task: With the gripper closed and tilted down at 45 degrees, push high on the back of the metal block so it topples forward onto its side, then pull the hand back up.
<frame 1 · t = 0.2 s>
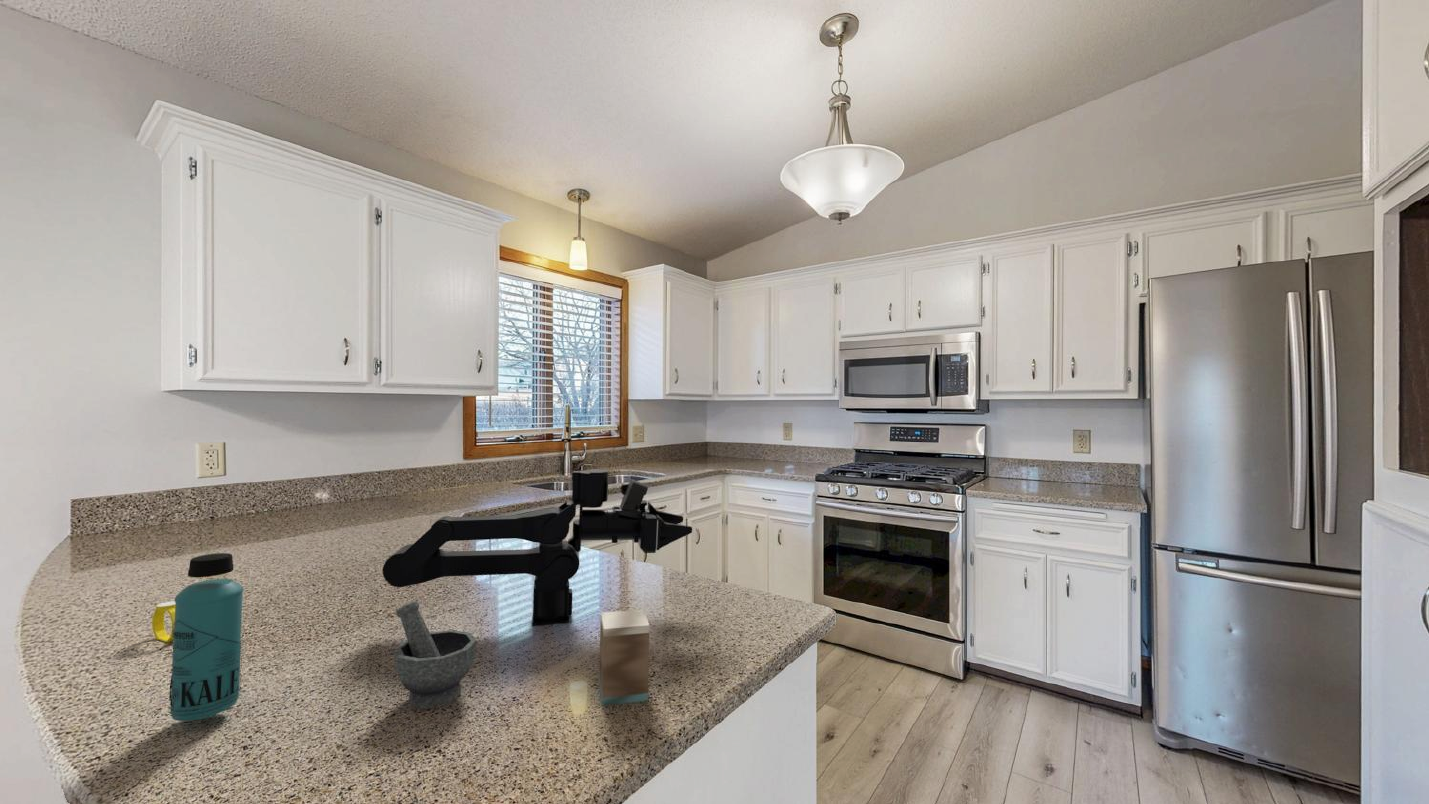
hand: (687, 524, 109), 16 cm above the countertop, tool horizontal, fingers open, 9 cm apart
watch: (167, 641, 90), on the countertop
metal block: (622, 692, 76), on the countertop
mortar and pestle: (430, 697, 74), on the countertop
beverage bottle: (205, 721, 68), on the countertop
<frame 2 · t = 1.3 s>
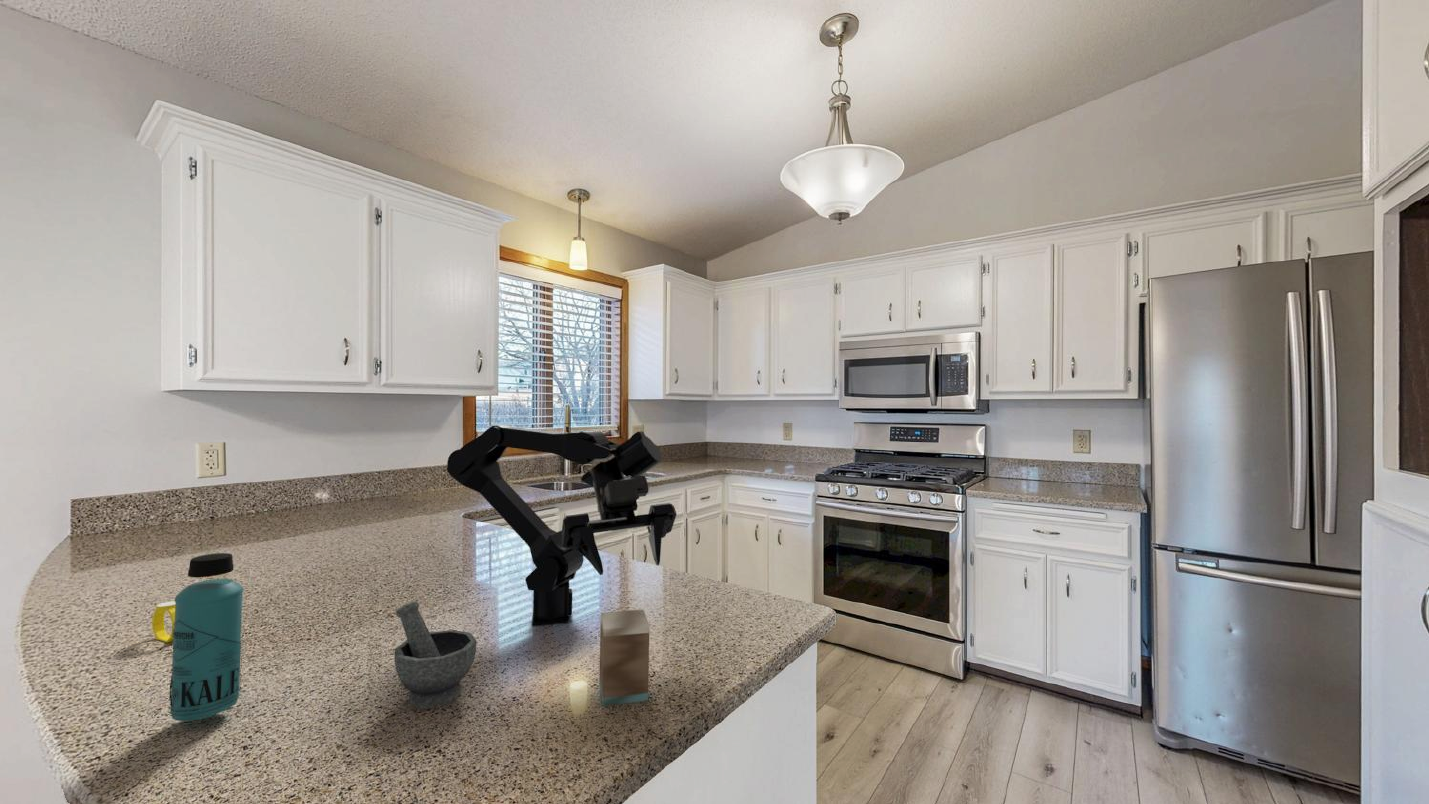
hand: (630, 568, 88), 14 cm above the countertop, tool tilted 45°, fingers open, 9 cm apart
nothing on the countertop moved.
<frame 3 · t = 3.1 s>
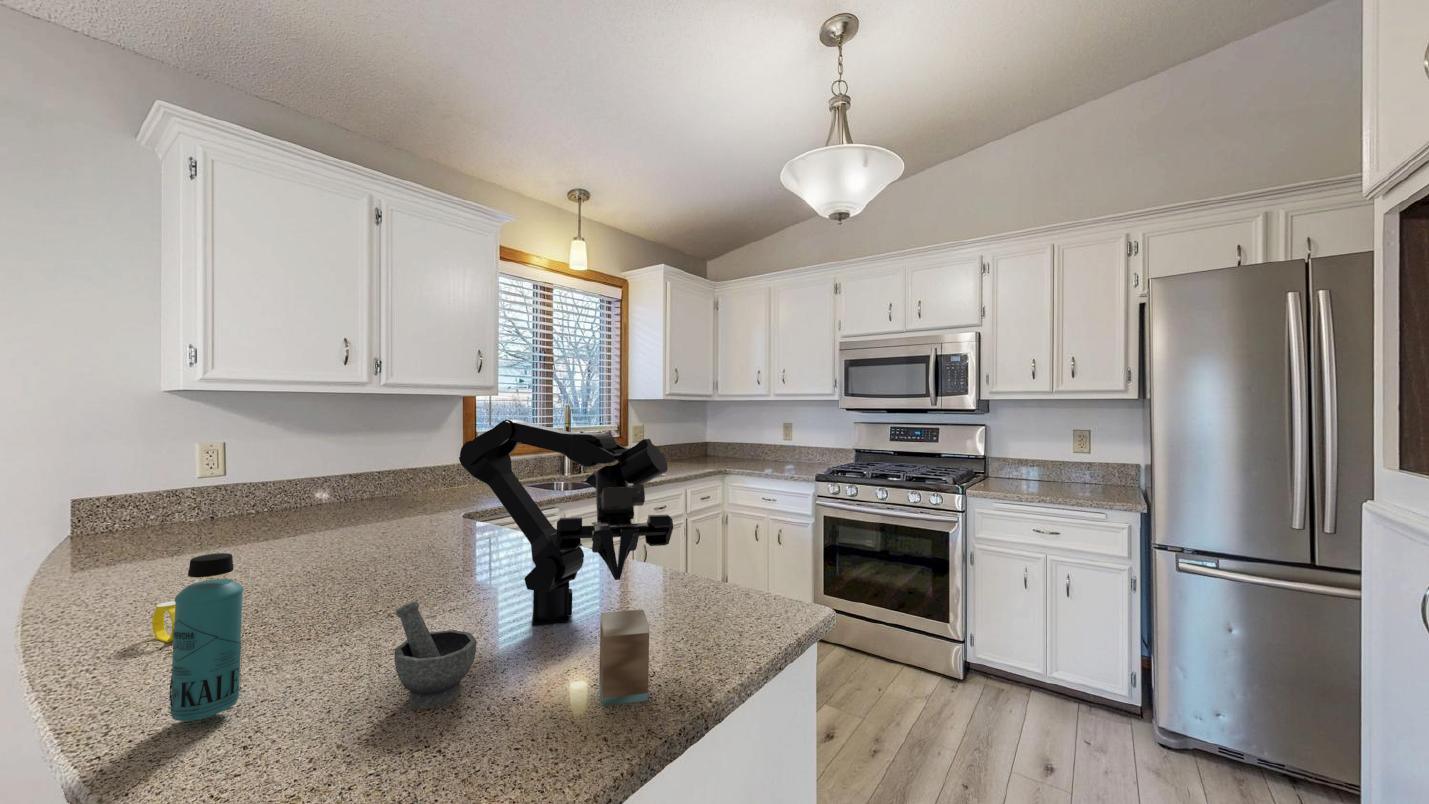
hand: (617, 578, 86), 12 cm above the countertop, tool tilted 45°, fingers closed
nothing on the countertop moved.
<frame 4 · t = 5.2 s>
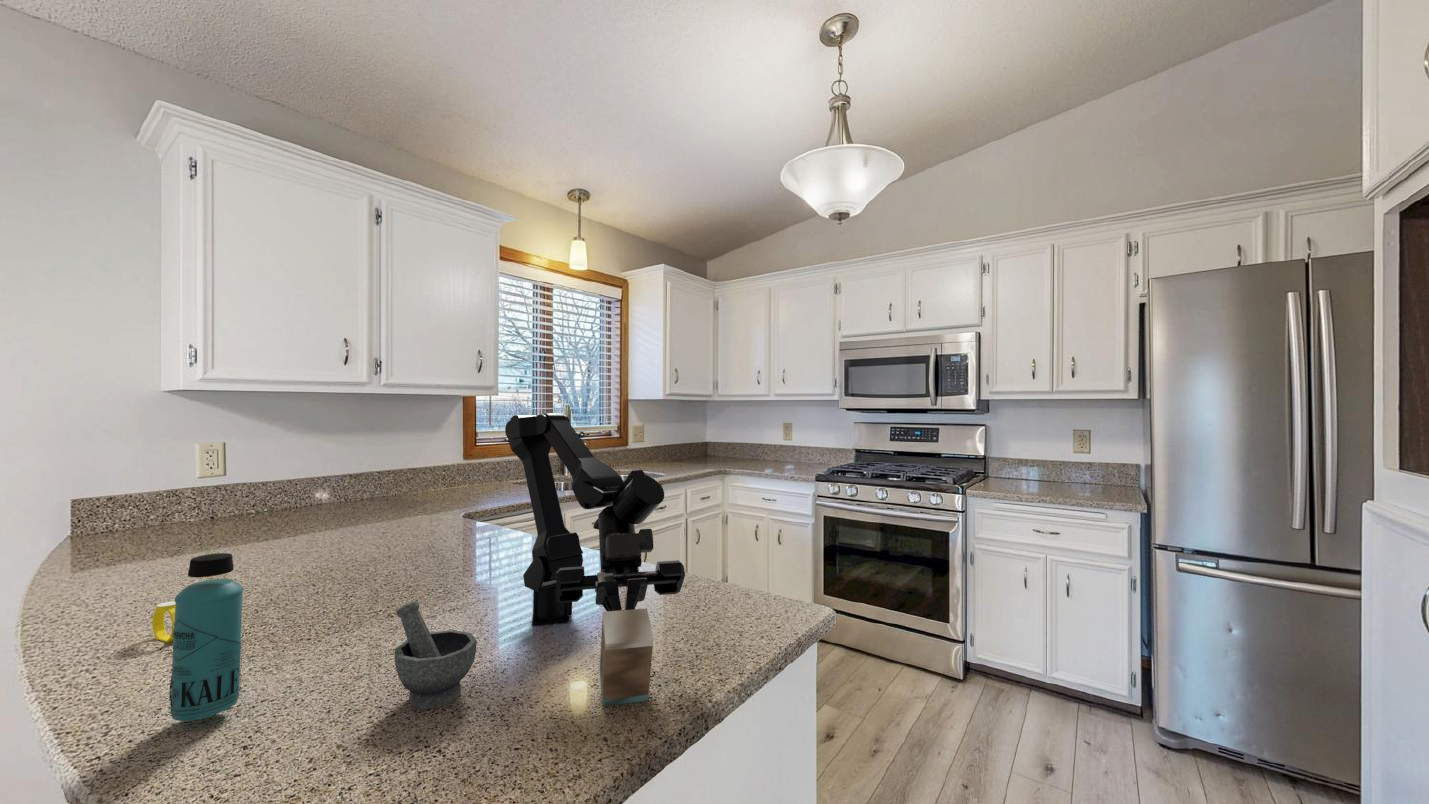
hand: (624, 636, 77), 7 cm above the countertop, tool tilted 45°, fingers closed
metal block: (623, 685, 76), point 1 cm above the countertop, tilted 20°
everything else where it was.
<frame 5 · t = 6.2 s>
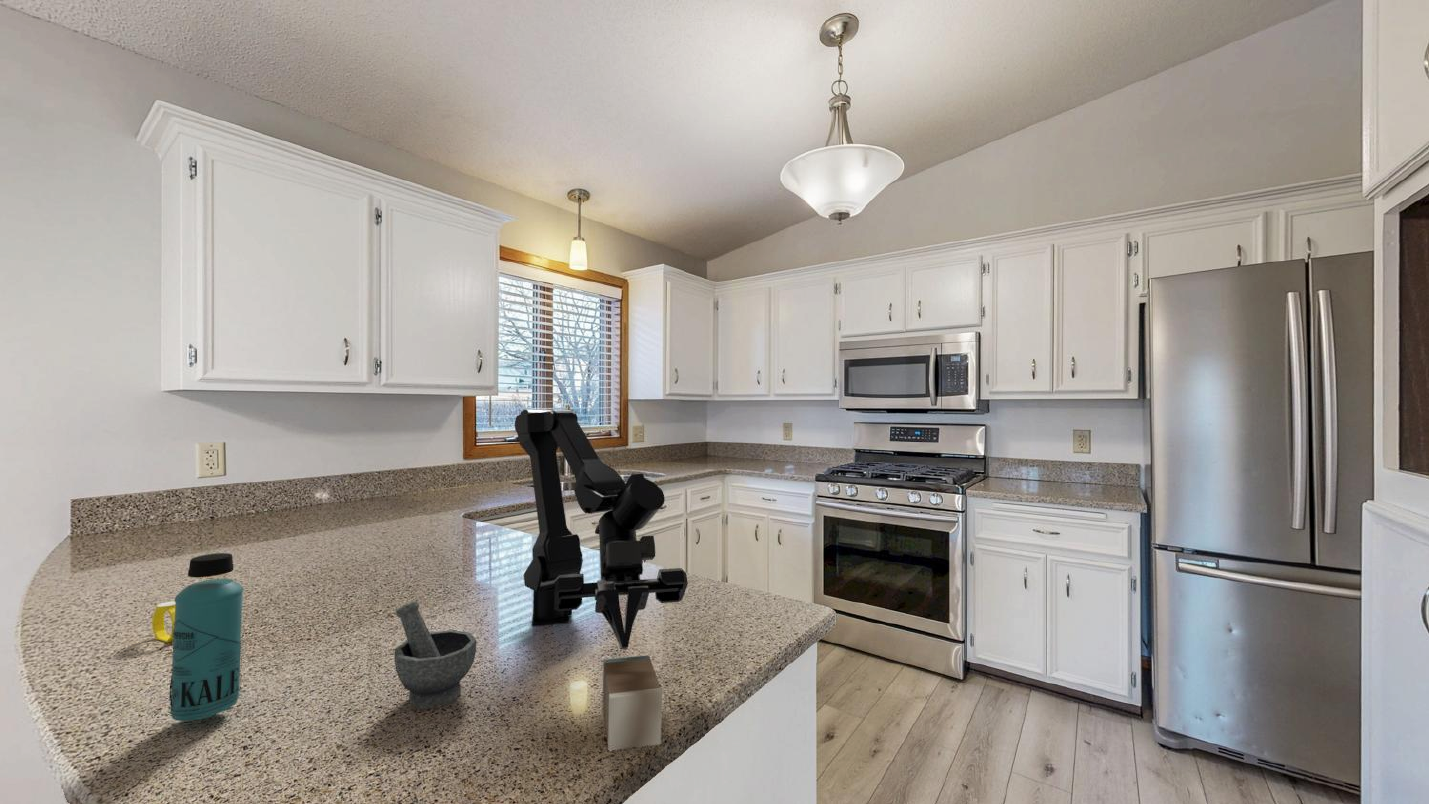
hand: (624, 647, 75), 7 cm above the countertop, tool tilted 45°, fingers closed
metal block: (625, 680, 73), point 3 cm above the countertop, tilted 90°
everything else where it was.
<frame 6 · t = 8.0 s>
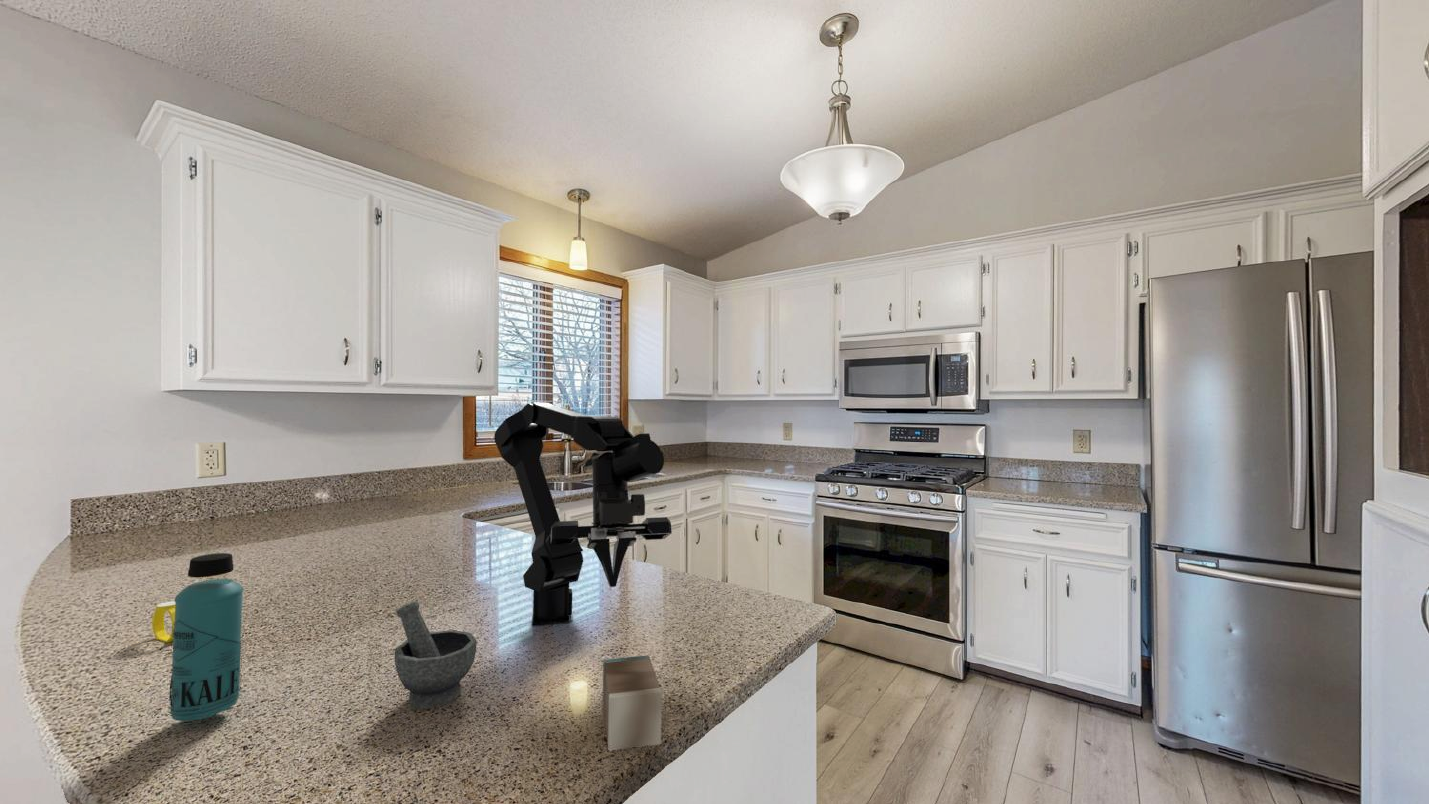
hand: (612, 586, 86), 11 cm above the countertop, tool tilted 20°, fingers closed
nothing on the countertop moved.
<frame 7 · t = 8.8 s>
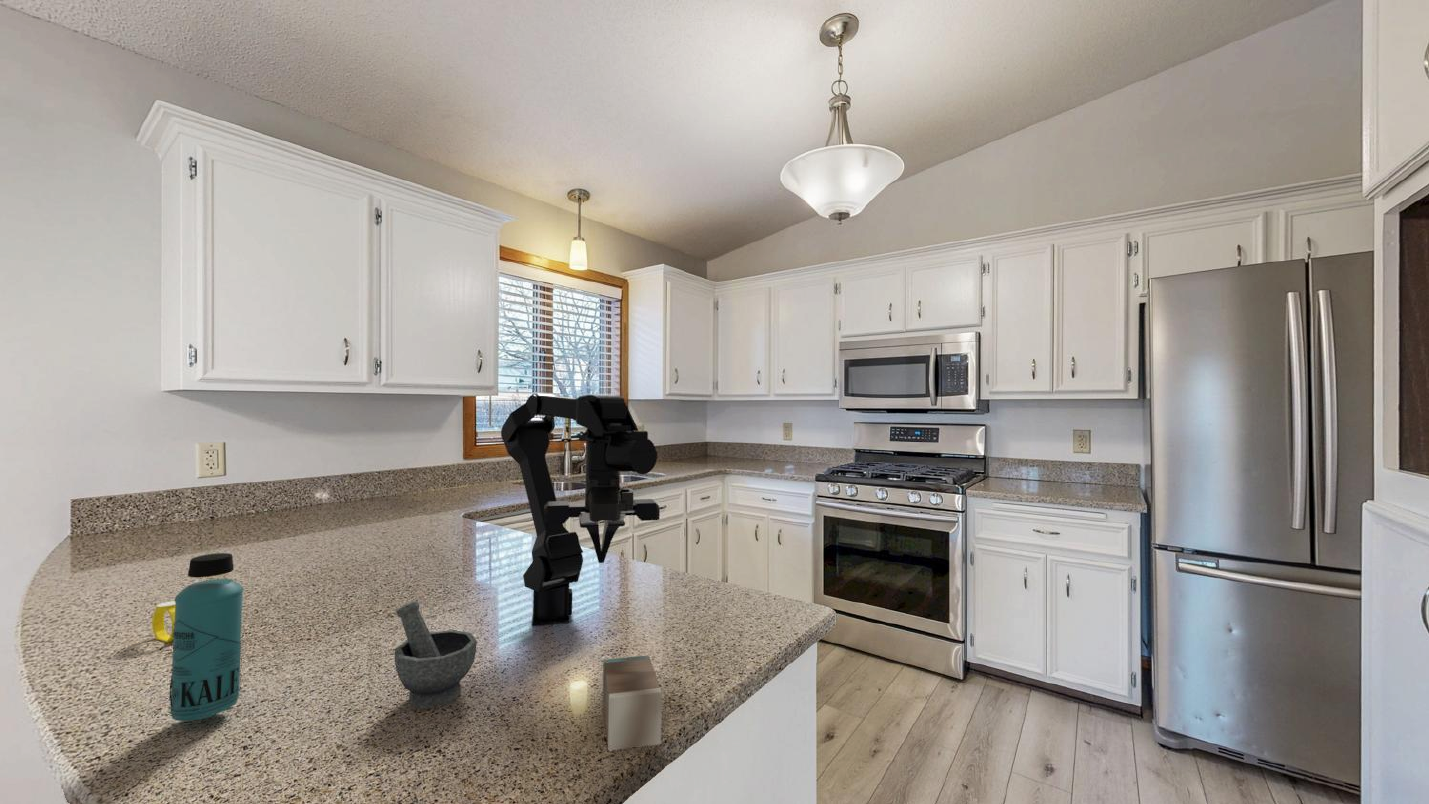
hand: (601, 562, 93), 13 cm above the countertop, tool pointing down, fingers closed
nothing on the countertop moved.
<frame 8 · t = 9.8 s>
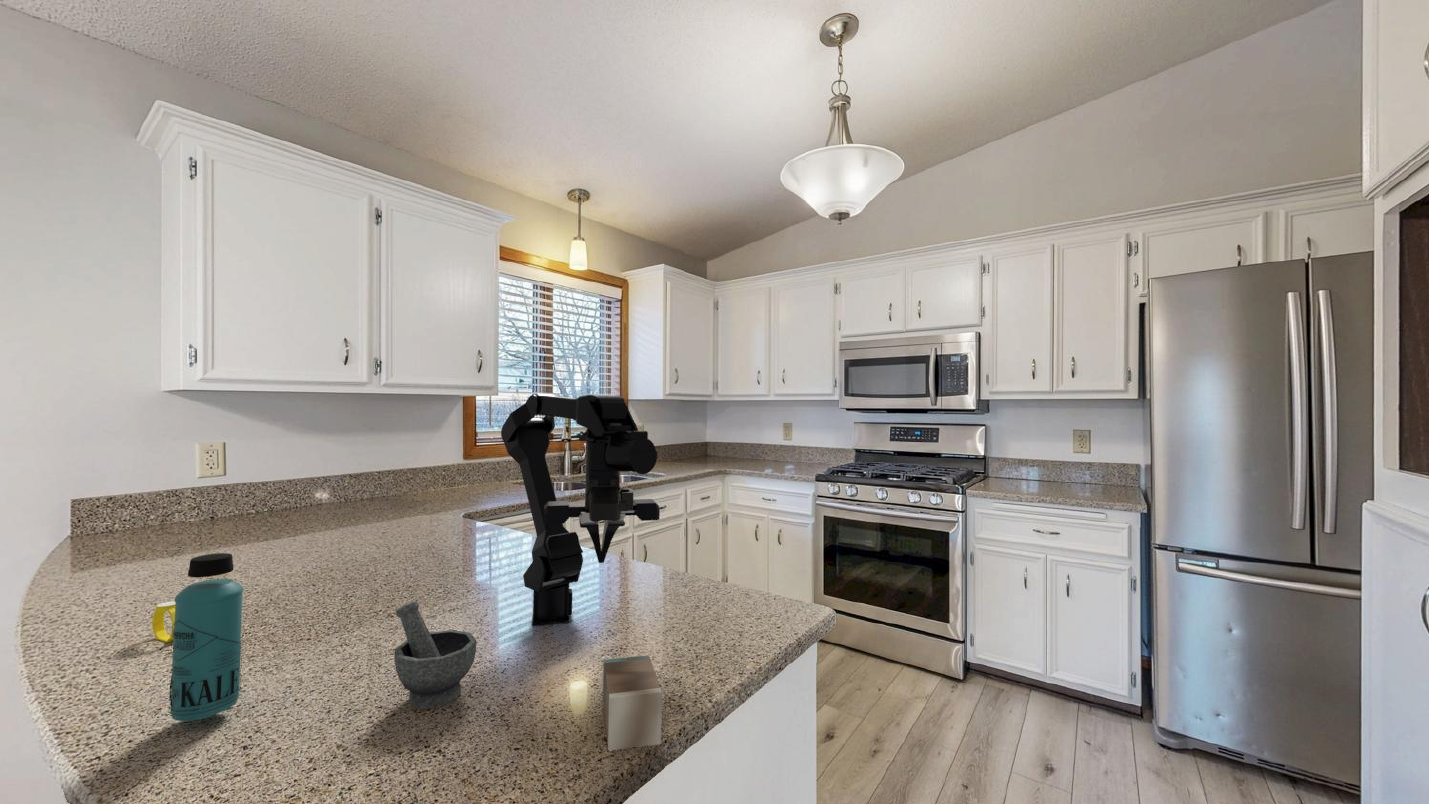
hand: (601, 562, 93), 13 cm above the countertop, tool pointing down, fingers closed
nothing on the countertop moved.
at the end: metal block tilted 90°; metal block inside the target area (1.5 cm from its centre), point 2.9 cm above the countertop; the gripper is holding nothing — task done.
